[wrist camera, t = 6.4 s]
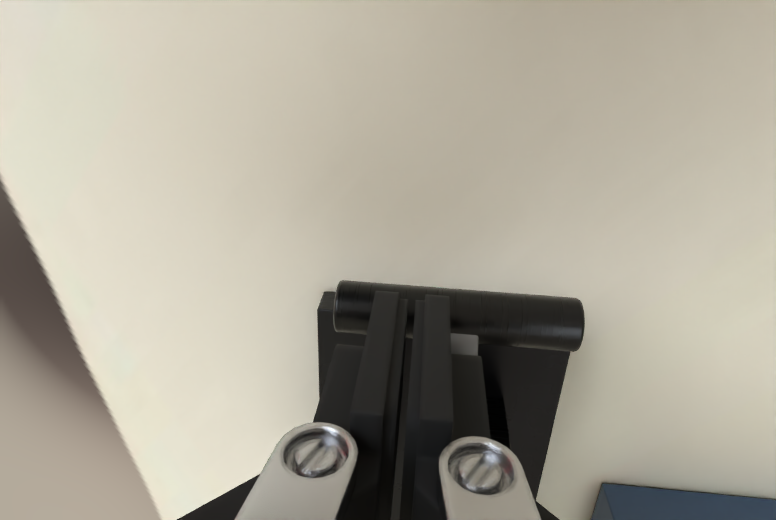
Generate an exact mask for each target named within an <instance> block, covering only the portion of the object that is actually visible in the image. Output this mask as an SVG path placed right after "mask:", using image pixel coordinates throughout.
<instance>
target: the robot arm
mask: <svg viewBox="0 0 776 520" xmlns="http://www.w3.org/2000/svg"><path fill="white" fill-rule="evenodd" d="M407 313H408V299H399V292H388V291H376V292H375V296H374V301H373V306H372V310H371V315H370V320H369V324H368V329H367V334H366V339H365V343H364V346H354V345H342V344H337V345H336V346H335V349H334V352H333V355H332V359H331V362H330V366H329V369H328V373H327V376H326V380H325V383H324V386H323V390H322V393H321V397H320V400H319V404H318V407H317V411H316V414H315V417H314V421H313V423H308V424H304V425H301V426H298V427H296V428H294V429H292V430H291V431H289V432H288V433H286V434H285V435H284V436H283V437H282V438H281V440H280V441H279V442H278V443H277V445H276V447H275V449H274V451H273V452H272V454H271V456H270V458H269V459H268V461H267V463H266V465H265V466H264V468H263V470H262V472H261V474H259V475H257V476H256V477H254V478H252V479H250V480H248V481H247V482H245V483H243V484H241V485H239V486H237V487H236V488H234V489H232V490H230V491H228V492H227V493H225V494H223V495H221V496H219V497H217V498H216V499H214V500H212V501H210V502H208V503H207V504H205V505H203V506H201V507H199V508H197V509H196V510H194V511H192V512H190V513H188V514H186V515H185V516H183V517H181V518H179V519H177V520H391V512H392V502H393V491H394V480H395V469H396V458H397V447H398V437H399V426H400V415H401V404H402V390H403V375H404V359H405V344H406V328H407ZM399 520H559V519H558V518H557V517H555V516H554V515H553V514H552V513H550V512H549V511H548V510H547V509H545V508H544V507H543V506H542V505H540V504H539V503H538V502H537V501H535V500H534V498H533V495H532V492H531V490H530V487H529V484H528V481H527V478H526V476H525V473H524V470H523V467H522V465H521V463H520V462H519V460H518V458H517V456H516V455H515V454H514V453H513V452H512V451H511V450H510V449H509V448H507V447H506V446H504V445H502V444H501V443H499V442H497V441H494V440H491V437H490V428H489V419H488V410H487V401H486V392H485V383H484V374H483V365H482V358H481V356H475V355H463V354H451V330H450V298H449V296H440V295H427V294H426V295H425V301H423V300H416V303H415V316H414V329H413V342H412V355H411V368H410V381H409V394H408V407H407V420H406V434H405V448H404V462H403V476H402V490H401V504H400V518H399Z"/></svg>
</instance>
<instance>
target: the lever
mask: <svg viewBox="0 0 776 520" xmlns="http://www.w3.org/2000/svg"><path fill="white" fill-rule="evenodd" d="M376 291H388V292H399V299H408V313H407V328H406V338H413V329H414V316H415V303H416V300H423V301H425V295H426V294H427V295H440V296H449V298H450V330H451V354H463V355H475V356H478V344H486V345H499V346H511V347H523V348H535V349H548V350H560V351H572V352H574V351H577V350H578V349H579V348H580V345H581V343H582V340H583V335H584V326H585V318H584V310H583V306H582V303H581V301H580V300H579V299H577V298H568V297H555V296H542V295H528V294H515V293H502V292H489V291H476V290H462V289H449V288H436V287H423V286H410V285H396V284H383V283H370V282H357V281H344V280H343V281H340V282H339V284H338V286H337V290H336V294H335V302H334V328H335V331H336V332H339V333H351V334H364V335H366V334H367V329H368V324H369V320H370V315H371V310H372V306H373V301H374V296H375V292H376Z"/></svg>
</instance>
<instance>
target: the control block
mask: <svg viewBox="0 0 776 520" xmlns="http://www.w3.org/2000/svg"><path fill="white" fill-rule="evenodd" d="M591 520H776V500H773V499H762V498H752V497H741V496H731V495H720V494H710V493H699V492H689V491H679V490H668V489H658V488H647V487H637V486H626V485H616V484H605V483H603V484H602V486H601V489H600V492H599V496H598V499H597V502H596V506H595V509H594V512H593V515H592V519H591Z"/></svg>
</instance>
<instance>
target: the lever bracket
mask: <svg viewBox="0 0 776 520" xmlns="http://www.w3.org/2000/svg"><path fill="white" fill-rule="evenodd" d="M335 294H336V292H324V294H323V296H322V299H321V302H320V304H319V307H318V310H317V314H318V356H319V397H321V393H322V390H323V386H324V383H325V380H326V376H327V373H328V369H329V366H330V362H331V359H332V355H333V352H334V349H335V346H336V345H337V344H342V345H354V346H364V343H365V339H366V335H364V334H351V333H339V332H336V331H335V328H334V302H335ZM412 342H413V338H406V344H405V359H404V375H403V390H402V404H401V415H400V426H399V437H398V447H397V458H396V469H395V480H394V491H393V502H392V512H391V520H399V518H400V504H401V490H402V476H403V462H404V448H405V434H406V420H407V407H408V394H409V381H410V368H411V355H412ZM569 355H570V351H560V350H548V349H535V348H523V347H511V346H499V345H486V344H478V356H481V358H482V365H483V374H484V383H485V392H486V401H487V410H488V419H489V428H490V437H491V440H494V441H497V442H499V443H501V444H502V445H504V446H506V447H507V448H509V449H510V450H511V451H512V452H513V453H514V454H515V455H516V456H517V458H518V460H519V462H520V463H521V465H522V467H523V470H524V473H525V476H526V478H527V481H528V484H529V487H530V490H531V492H532V495H533V498H534V500H535V501H536V497H537V493H538V488H539V484H540V480H541V475H542V471H543V467H544V463H545V458H546V454H547V450H548V445H549V441H550V437H551V432H552V428H553V424H554V420H555V415H556V411H557V407H558V402H559V398H560V394H561V389H562V385H563V381H564V376H565V372H566V368H567V364H568V359H569Z"/></svg>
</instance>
